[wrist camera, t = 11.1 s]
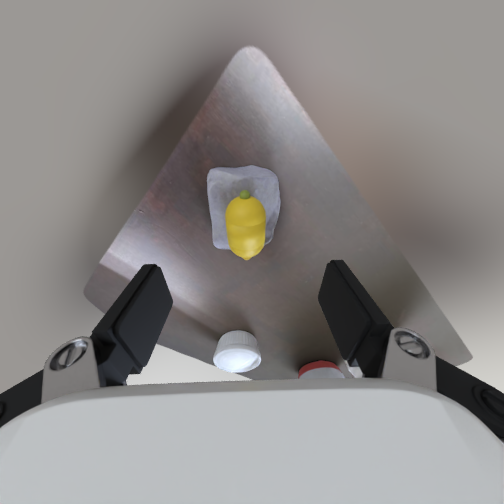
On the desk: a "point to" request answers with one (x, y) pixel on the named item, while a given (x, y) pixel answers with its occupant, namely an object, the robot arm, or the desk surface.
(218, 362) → the ramekin
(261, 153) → the desk surface
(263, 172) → the stone block
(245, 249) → the lemon
